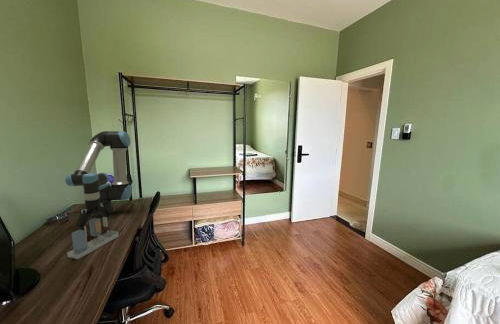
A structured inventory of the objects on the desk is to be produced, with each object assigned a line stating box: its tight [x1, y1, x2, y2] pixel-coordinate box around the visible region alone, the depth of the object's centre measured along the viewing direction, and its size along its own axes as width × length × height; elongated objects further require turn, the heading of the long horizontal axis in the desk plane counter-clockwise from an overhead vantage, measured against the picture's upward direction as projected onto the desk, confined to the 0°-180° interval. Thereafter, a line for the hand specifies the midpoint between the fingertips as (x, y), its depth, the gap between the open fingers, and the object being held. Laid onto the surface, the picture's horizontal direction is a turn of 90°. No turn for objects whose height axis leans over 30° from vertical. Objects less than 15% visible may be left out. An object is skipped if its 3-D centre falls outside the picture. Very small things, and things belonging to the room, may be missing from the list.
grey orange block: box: [88, 217, 103, 238], centre depth 128 cm, size 5×4×10 cm
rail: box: [66, 229, 119, 260], centre depth 116 cm, size 24×7×12 cm, turn 166°
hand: (95, 231), depth 129 cm, fingers open, 13 cm apart
